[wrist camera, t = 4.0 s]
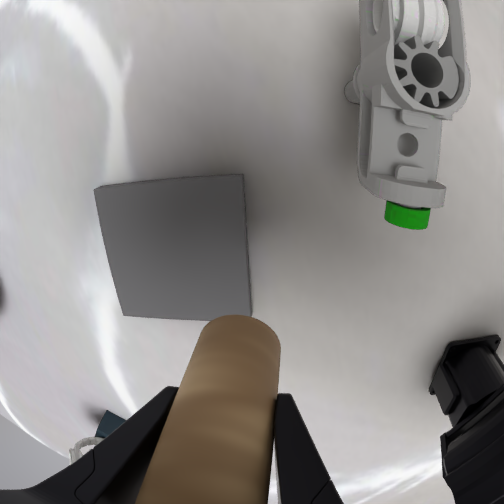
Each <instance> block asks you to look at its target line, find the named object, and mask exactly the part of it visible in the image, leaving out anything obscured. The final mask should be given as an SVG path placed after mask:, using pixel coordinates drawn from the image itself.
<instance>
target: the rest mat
mask: <svg viewBox="0 0 504 504" xmlns="http://www.w3.org/2000/svg"><path fill="white" fill-rule="evenodd" d="M94 194H95V200H96V206H97V211H98V216H99V221H100V226H101V231H102V236H103V240H104V245H105V249H106V253H107V258H108V262H109V266H110V270H111V273H112V277H113V281H114V285H115V288H116V292H117V295H118V299H119V302H120V306H121V309H122V312H123V316H133V317H146V318H161V319H179V320H200V321H212V320H214V319H215V318H218V317H221V316H225V315H245V316H249V317H251V316H252V308H251V293H250V277H249V262H248V246H247V231H246V215H245V199H244V183H243V174H236V175H217V176H201V177H186V178H174V179H162V180H152V181H142V182H132V183H123V184H115V185H107V186H101V187H98V188H96V189H94Z"/></svg>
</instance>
